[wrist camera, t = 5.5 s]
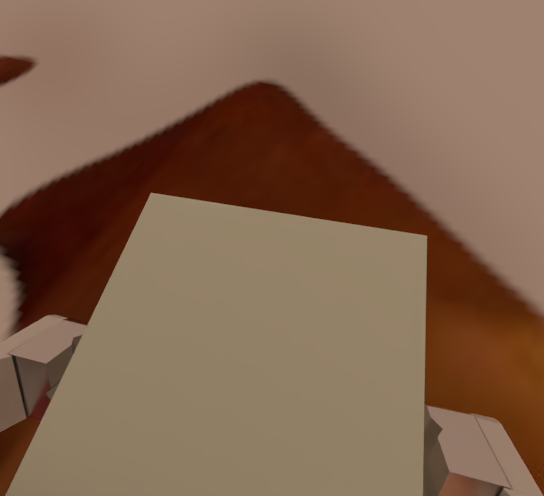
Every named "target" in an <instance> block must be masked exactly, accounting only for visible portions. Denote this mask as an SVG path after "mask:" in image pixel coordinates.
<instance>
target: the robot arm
mask: <svg viewBox="0 0 544 496" xmlns="http://www.w3.org/2000/svg"><path fill="white" fill-rule="evenodd" d="M87 325H88V323H87V322H83V321H79V320H75V319H72V318H66V317H62V316H59V315H47V316H45V317H43V318H42V319H40V320H38V321H37V322H35V323H33V324H31V325H30V326H28V327H26V328H24V329H23V330H21V331H19V332H18V333H16V334H14V335H12V336H11V337H9V338H7V339H5V340H4V341H2V342H0V432H1V431H3V430H5V429H7V428H9V427H11V426H13V425H15V424H16V423H18V422H20V421H22V420H24V419H26V418H27V417H26V416H28V417H32V418H36V419H39V420H42V418H43V416H44V414H45V412H46V410H47V408H48V406H49V404H50V402H51V400H52V398H53V395H54V393H55V391H56V389H57V387H58V385H59V383H60V381H61V379H62V377H63V375H64V373H65V371H66V368H67V366H68V364H69V362H70V360H71V358H72V356H73V354H74V352H75V350H76V348H77V346H78V343H79V341H80V339H81V337H82V335H83V333H84V331H85V329H86V327H87ZM423 496H543V494H542V493H541V491H540V489H539V487H538V486H537V484H536V482H535V481H534V479H533V477H532V475H531V474H530V472H529V470H528V469H527V467H526V465H525V464H524V462H523V460H522V458H521V457H520V455H519V453H518V452H517V450H516V448H515V447H514V445H513V443H512V441H511V440H510V438H509V436H508V435H507V433H506V431H505V430H504V428H503V426H502V424H501V423H500V422H499V421H498V420H496V419H495V418H491V417H487V416H482V415H478V414H473V413H467V412H463V411H458V410H454V409H449V408H445V407H441V406H436V405H432V404H428V403H424V454H423Z"/></svg>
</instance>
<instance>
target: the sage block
mask: <svg viewBox="0 0 544 496" xmlns="http://www.w3.org/2000/svg"><path fill="white" fill-rule="evenodd" d="M426 275H427V236H426V235H419V234H413V233H406V232H400V231H394V230H387V229H381V228H374V227H368V226H361V225H355V224H349V223H342V222H336V221H329V220H323V219H317V218H310V217H304V216H297V215H291V214H284V213H278V212H272V211H265V210H259V209H252V208H246V207H240V206H233V205H227V204H220V203H214V202H208V201H201V200H195V199H188V198H182V197H175V196H169V195H163V194H156V193H151V194H150V196H149V198H148V200H147V202H146V204H145V206H144V208H143V211H142V213H141V215H140V217H139V219H138V221H137V223H136V225H135V227H134V229H133V231H132V233H131V235H130V238H129V240H128V242H127V244H126V246H125V248H124V250H123V252H122V254H121V256H120V258H119V260H118V262H117V265H116V267H115V269H114V271H113V273H112V275H111V277H110V279H109V281H108V283H107V285H106V287H105V289H104V292H103V294H102V296H101V298H100V300H99V302H98V304H97V306H96V308H95V310H94V312H93V314H92V316H91V319H90V321H89V323H88V325H87V327H86V329H85V331H84V333H83V335H82V337H81V339H80V341H79V343H78V346H77V348H76V350H75V352H74V354H73V356H72V358H71V360H70V362H69V364H68V366H67V368H66V371H65V373H64V375H63V377H62V379H61V381H60V383H59V385H58V387H57V389H56V391H55V393H54V395H53V398H52V400H51V402H50V404H49V406H48V408H47V410H46V412H45V414H44V416H43V418H42V420H41V422H40V425H39V427H38V429H37V431H36V433H35V435H34V437H33V439H32V441H31V443H30V445H29V447H28V449H27V452H26V454H25V456H24V458H23V460H22V462H21V464H20V466H19V468H18V470H17V472H16V474H15V476H14V479H13V481H12V483H11V485H10V487H9V489H8V491H7V493H6V495H5V496H423V454H424V394H425V335H426Z"/></svg>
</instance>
